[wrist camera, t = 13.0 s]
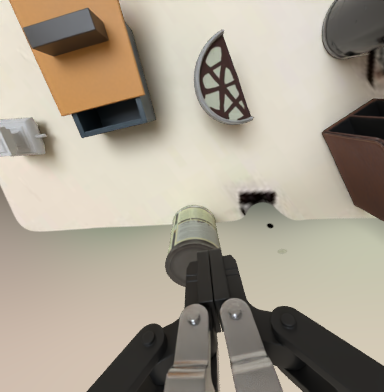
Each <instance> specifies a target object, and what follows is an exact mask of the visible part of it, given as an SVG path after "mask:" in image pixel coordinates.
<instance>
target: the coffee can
mask: <svg viewBox="0 0 384 392" xmlns="http://www.w3.org/2000/svg"><path fill="white" fill-rule="evenodd" d="M217 248H220V243H219V239H218V234H217V229H216V224H215V218H214V216H213V214H212V213H211V212H210V211H209V210H208V209H206V208H204V207H202V206H198V205H191V206H186V207H184V208H182V209H180V210H179V211H178V212H177V213H176V215H175V216H174V219H173V226H172V232H171V238H170V244H169V250H168V256H167V258H166V262H165V268H166V272H167V274H168V275H169V277H170V278H171V279H172V280H173V281H174V282H176V283H177V284H179V285H181V286H184V287H186V268H187V267H188V265H189V263H190V262H192V261H197V252H200V251H205V250H208V251H209V250H211V249H217Z"/></svg>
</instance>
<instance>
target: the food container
mask: <svg viewBox="0 0 384 392" xmlns="http://www.w3.org/2000/svg"><path fill="white" fill-rule="evenodd" d="M223 33H224V30H223V29H222V30H220V31H219V32H217V33H216V34H215V35H214V36H213V37H212V38H211V39H210V40H209V41H208V42H207V43H206V44H205V46H204V47H203V49H202V51H201V53H200V54H199V57H198V60H197V62H196V66H195V72H194V87H195V92H196V96H197V99H198V101H199V103H200V105H201V107H202V108H203V109H204V111H205V112H206V113H207V114H208V115H209V116H210V117H212V118H213V119H215V120H216V121H219V122H221V123H224V124H231V125H236V124H243V123H246V122H249V121H251V120H253V118H254V117H252V116H251V115H250V112H249V110H248V107H247V104H246V101H245V98H244V95H243V92H242V89H241V86H240V83H239V79H238V76H237V74H236V71H235V69H234V66H233V63H232V60H231V57H230V55H229V52H228V49H227V46H226V43H225V40H224V37H223Z"/></svg>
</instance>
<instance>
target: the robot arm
mask: <svg viewBox="0 0 384 392" xmlns="http://www.w3.org/2000/svg"><path fill="white" fill-rule="evenodd" d="M322 38H323V43H324V46H325V48H326V50H327V51H328V52H329V54H331V55H332V56H333V57H335V58H338V59H349V58H353V57H358V56H364V55H367V54H363V53H366V52H369V51H372V50H376V49H379V48H382V47H384V0H335V1H334V2H333V3H332V5H331V6H330V8H329V10H328V12H327V14H326V17H325V20H324V23H323V29H322ZM360 54H363V55H360ZM370 54H371V53H370ZM220 324H221V327H220ZM221 328H222V332H224V334H225V339H226V344H227V348H228V353H229V358H230V363H231V369H232V374H233V379H234V384H235V388H236V392H283V390H282V387H281V385H280V382H279V379H278V377H277V374H276V372H275V369H274V366H273V365H275V366H277V367H278V368H279V369H280V370H281V371H282V372H283V373H284V374H285V375H286V376H287V377H288V378H289V379H290V380H291V381H292V382H293V383H294V384H295V385H296V386H298V387H299V388H300V389H301V390H302V391H303V392H384V366H383V365H381V364H380V363H378V362H376V361H375V360H374V359H372V358H370V357H369V356H367V355H366V354H364V353H363V352H361V351H360V350H358V349H356V348H355V347H353V346H352V345H350V344H349V343H347V342H346V341H344V340H342V339H341V338H339V337H338V336H336V335H335V334H333V333H331V332H330V331H328V330H326V329H325V328H324V327H322V326H321V325H319V324H317V323H316V322H314V321H313V320H311V319H310V318H308V317H307V316H305V315H304V314H302V313H300V312H299V311H297V310H296V309H294V308H291V307H288V306H281V307H277V308H275V309H274V310H273V311H272V312H269V311H263V310H259V309H256V308H255V307H253V306H252V305H251V304H250V303H249V302H248V301H247V299H246V296H245V292H244V289H243V285H242V281H241V278H240V275H239V271H238V267H237V263H236V260H235V259H234V258H233V257H232V256H231V255H227V256H222V253H221V248H217V249H211V250H209V251H208V250H205V251H200V252H197V261H192V262H190V263H189V265H188V267H187V268H186V290H185V308H184V310H183V311H182V313H181V315H180V318H179V319H178V320H176V321H175V322H173V323H172V324H170V325H168V326H166V327H164V328H162V327H161V326H160V325H158V324H149V325H147V326H145V327H144V328H143V329H142V330H140V332H139V333H138V334H137V335H136V336H135V337H134V338H133V340H132V341H131V342H130V343H129V344H128V345H127V346H126V347H125V349H124V350H123V351H122V352H121V353H120V354H119V355H118V357H117V358H116V359H115V360H114V361H113V362H112V363H111V365H110V366H109V367H108V368H107V369H106V370H105V371H104V373H103V374H102V375H101V376H100V377H99V378H98V379H97V381H96V382H95V383H94V384H93V385H92V386H91V387H90V388H89V390H88V391H87V392H220V387H219V361H218V360H219V358H218V342H217V333H218V332H221Z"/></svg>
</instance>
